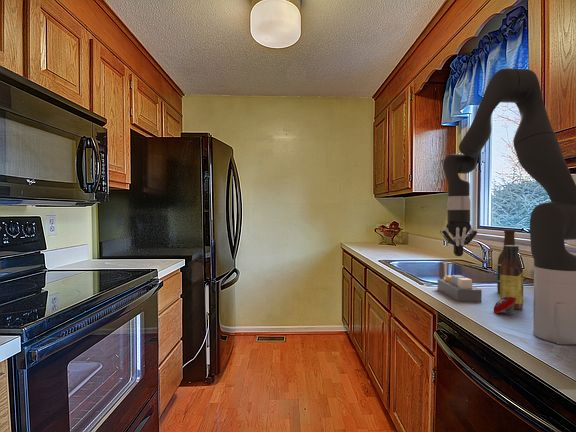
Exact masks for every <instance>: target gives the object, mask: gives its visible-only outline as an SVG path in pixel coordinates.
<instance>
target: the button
mask: <svg viewBox="0 0 576 432" xmlns="http://www.w3.org/2000/svg"><path fill="white" fill-rule="evenodd" d="M516 299H517V298H514V297H505V298H503V299H500V298H499V300H498V301H497V302H495V304H494V307H493V313H494V314H500V313H502V312H504V311H505V312H506V314H507V315H508V316H510V315H514V313H515V309H513V308H511V306H512V305H513V304H514V303H515V302H516Z"/></svg>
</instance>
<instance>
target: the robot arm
mask: <svg viewBox="0 0 576 432" xmlns="http://www.w3.org/2000/svg"><path fill="white" fill-rule="evenodd" d="M543 99H544V98H543V94H542V90H541V85H540V81H539V78H538V76H537V74H536V73H535V72H534V71H533V70H530V69H527V68H502V69H498V70H497V71H496V72H495V73H494V74H493V75H492V76H491V78H490V80H489V81H488V83H487V86H486V87H485V91H484V93H483V95H482V99H481V101H480V103H479V105H478V108H477V110H476V113H475V115H474V118H473V121H472V123H471V125H470V126H469V128H468V130H467V132H466V133H465V135H464V136H463V138H462V139H461V141H460V143H459V145H458V150H459V152H460V153H449V154H448V155H447V156H446V157H445V158H444V159H443V164H442V166H443V171H444V175H445V178H446V183H447V186H448V187H447V190H448V191H447V192H448V193H447V194H448V195H447V206H446V208H447V210H446V211H447V214H446V215H447V217H446V219H447V224H446V226H445V228H444V229H442V230H440V231H439V233H440V234H441V236H442V237H443V238H444V239H445V241H446V242H447V243H448V244H450V245H452V246H453V254H454V256H455V257H462V256H463V254H464V246H465V245H469V244H470V243H471V242H472V241H473V239H474V238H475V237H476V236H477V234H478V231H477V230H474V229H473V228H472V225H471V197H470V196H471V195H470V194H471V193H470V192H471V189H470V188H471V183H470V182H469V180H466V179H462V178H461V177H460V175H459V174H464V175H465V174H469V173H471V172H473V170H474V169H476V165H477V162H478V160H479V156H480V152H481V151H482V150H483V148H484V147H485V146H486V144H487V142H488V141H489V139H490V137H491V135H492V130H493V127H492V126H493V125H492V116H493V113H494V111H495V109H496V108H497V106H498V105H500V103H503V104H504V103H505V104H506V103H508V104H509V103H510V104H515V106H516V107H517V109H518V112H519V115H520V121H519V124H518V126H517V128H516V131H515V133H514V136H513V142H512V143H513V148H514V150H515V154H516V158H517V160H518V163H519V164H520V166H521V167H522V169H523V170H524V171H525V172H526V173H527V174H528V176H530V177H531V178H533V180H534V181H535V182H537V183H538V184H539V185H540V186H541V187H542V189H544V190H545V193H546V194H547V195H548V197H549V200H550V201H549V202H548V201H546V202H541V203H538V204H536V205H535V206H534V208H533V209H532V211H531V214H530V218H529V237H530V252H531V255H532V258H533V260H534V261H533V265H534V267H533V316H532V317H533V318H532V319H533V321H532V322H533V327H532V328H533V329H532V331H533V332H532V333H533V335H534V336H535V337H537V338H539V339H542V340H544V341H547V342H551V343H554V344H557V345H576V255H575V254H573V253H571V252H569V251H568V250H567V249H566V245H565V243H566V242H565V241H574V240H576V182H575V180H574V179H573V175H572V174H571V172H570V169H569V167H568V165H567V162H566V160H565V157H564V155H563V152H562V149H561V146H560V144H559V140H558V137H557V136H556V134H555V131H554V129H553V127H552V123H551V121H550V118H549V116H548V113H547V110H546V106H545V103H544V100H543ZM449 234H450V235H451V236H450V235H449Z"/></svg>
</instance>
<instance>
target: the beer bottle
mask: <svg viewBox="0 0 576 432" xmlns="http://www.w3.org/2000/svg"><path fill="white" fill-rule="evenodd" d="M503 233H504V238H503V239H504V240H503V248H502V251H501V252H500V253H499V255H498V258H497V282H496V283H497V287H496V288H497V293H498V294H500V266H501V264H502V263H503V261H504V245H514V246H516V244H515V243H516V242H515V233H516V231H515V229H508V228H506V229H504V230H503ZM518 259H519V262H520V264H521V265H522V263H521V257H520V255H519V254H518Z"/></svg>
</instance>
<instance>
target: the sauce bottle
mask: <svg viewBox="0 0 576 432" xmlns="http://www.w3.org/2000/svg"><path fill="white" fill-rule="evenodd" d="M503 247H504V261H503V263H502V264H501V266H500V293H499V297H500V298H499V300H500V299H503V298H505V297H514V298H517V299H516V302H515V303H514V304H513V305H512V306H511V308H513V309H514V310H521V309H523V306H524V305H523V304H524V270H523V268H522V263H521V264H520V262H519V259H518V255H519V250H520V248H519V246H518V245H515V246H514V245H504V244H503Z"/></svg>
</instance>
